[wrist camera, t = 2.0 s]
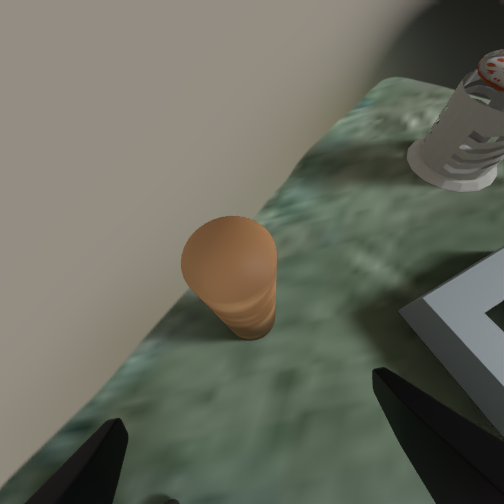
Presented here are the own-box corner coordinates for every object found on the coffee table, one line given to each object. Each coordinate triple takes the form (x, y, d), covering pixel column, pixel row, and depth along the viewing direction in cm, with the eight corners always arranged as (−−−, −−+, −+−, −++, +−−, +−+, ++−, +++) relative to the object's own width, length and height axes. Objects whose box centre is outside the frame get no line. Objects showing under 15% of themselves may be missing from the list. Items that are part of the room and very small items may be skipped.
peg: (240, 349, 20) (201, 322, 9) (220, 306, 22) (168, 240, 11) (283, 325, 21) (296, 272, 10) (260, 284, 23) (249, 203, 12)
